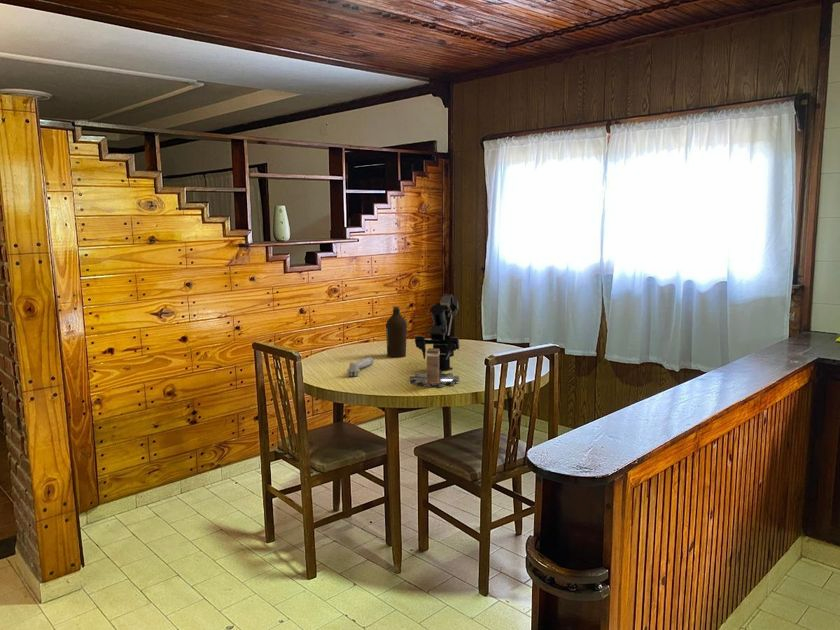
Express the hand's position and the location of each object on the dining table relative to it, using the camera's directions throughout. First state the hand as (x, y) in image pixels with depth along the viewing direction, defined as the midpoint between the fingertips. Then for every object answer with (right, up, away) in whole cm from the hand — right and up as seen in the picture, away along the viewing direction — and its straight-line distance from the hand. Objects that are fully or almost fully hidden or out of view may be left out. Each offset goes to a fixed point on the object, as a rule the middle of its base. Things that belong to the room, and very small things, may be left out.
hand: (434, 359), depth 262 cm
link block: (-1, -9, -3) cm, 9 cm away
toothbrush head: (-33, -7, +21) cm, 40 cm away
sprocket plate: (0, -9, +3) cm, 10 cm away
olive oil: (-18, -2, +52) cm, 55 cm away
